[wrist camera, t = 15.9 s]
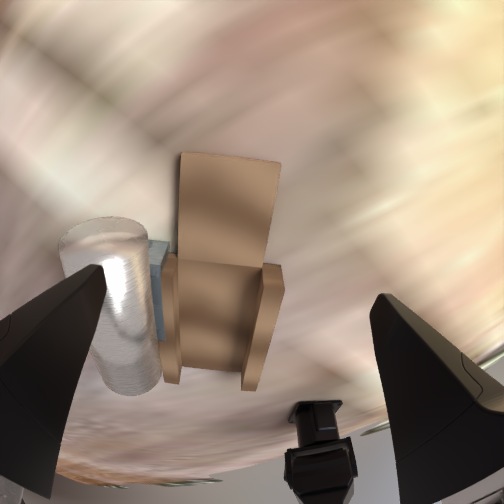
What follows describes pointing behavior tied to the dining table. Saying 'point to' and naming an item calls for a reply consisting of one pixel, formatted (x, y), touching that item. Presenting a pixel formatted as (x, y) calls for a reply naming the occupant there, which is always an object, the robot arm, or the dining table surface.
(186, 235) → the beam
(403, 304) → the robot arm
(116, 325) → the silver metal tumbler
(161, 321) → the v block
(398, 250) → the dining table surface
